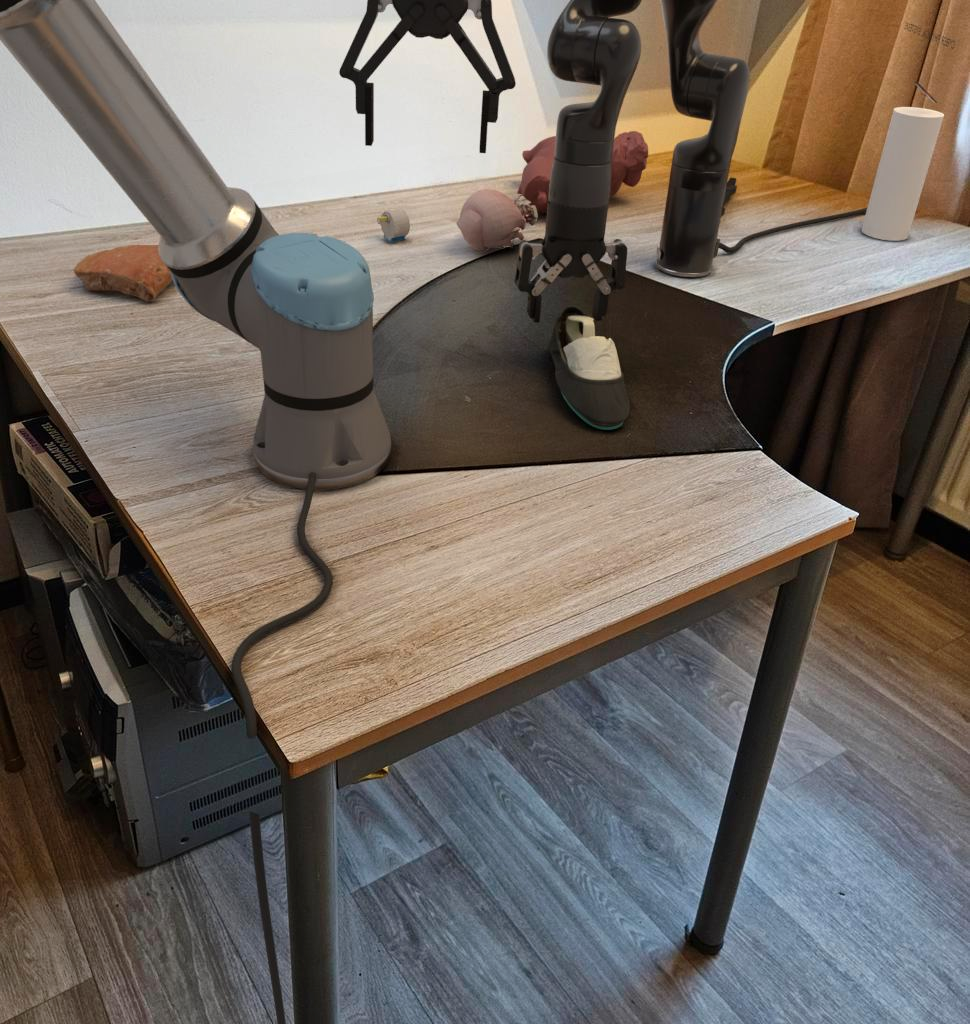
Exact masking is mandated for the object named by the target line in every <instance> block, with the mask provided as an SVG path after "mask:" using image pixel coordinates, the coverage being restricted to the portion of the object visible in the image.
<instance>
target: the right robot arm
mask: <svg viewBox="0 0 970 1024" xmlns="http://www.w3.org/2000/svg"><path fill="white" fill-rule="evenodd" d="M642 1H643V0H569V1H568V3H567V4H566V6H565V7H564V9H563V10H561V11H562V12H561V13H560V14H559V16H558V18H557V19H556V21H555V22H554V24H553V27H552V29H551V32H550V34H549V38H548V41H547V45H546V60H547V65H548V67H549V69H550V72H551V73H552V74H553V76H555V77H556V78H557V79H559V80H561V81H564V82H570V83H579V84H586V85H587V84H588V85H593V86H600V91H599V94H598V96H597V98H596V99H595V100H594V101H590V102H589V101H588V102H580V103H579V102H578V103H571V104H568V105H565V106H564V107H562V108H561V109H560V111H559V113H558V115H557V121H556V129H555V136H556V141H555V152H554V161H553V166H552V170H551V175H550V185H549V196H548V207H547V213H546V218H545V219H546V220H545V233H544V238H543V240H542V241H541V242H540V243H533V242H529V241H528V240H526V239H523V240H520V242H519V245H518V252H517V258H516V259H517V260H516V266H515V273H514V284H515V285H516V287H517V289H518V291H519V292H521V293H524V292H525V293H527V302H526V303H527V304H526V313H527V315H528V317H529V318H530V319H531V320H532V323H536V324H537V323H540V321H541V311H542V299H543V295H541V294H542V293H543V292H544V290H545V289H546V288H547V286H548V285H551V284H552V283H553V282H554V281H555V280H556V278H557V277H559V278H560V279H569V278H572V277H573V278H577V279H584V278H585V277H586V276H588V275H589V276H590V277H591V279H592V280H593V282H594V284H595V286H596V287H597V288H596V289H594V294H593V295H594V296H593V306H592V318H593V319H594V321H595V322H600V321H602V320H603V317H605V316H606V315H607V313H608V307H609V298H610V294H611V293H612V292H613V291H616V290H618V291H621V290H623V289H624V288H625V285H626V273H627V261H628V260H627V259H628V246H627V245H626V244H625V243H624V242H623V241H622V240H621V239H619V238H616V239H614V241H612V242H605V235H606V227H607V219H608V211H609V202H610V195H611V189H610V187H611V162H612V153H613V145H614V139H615V137H616V130H617V129H616V128H617V124H618V121H619V116H620V114H621V110H622V107H623V104H624V100H625V99H626V95H627V93H628V89H629V88H630V85H631V83H632V80H633V78H634V75H635V73H636V70H637V68H638V66H639V65H638V64H639V62H640V58H641V54H642V39H641V35H640V32H639V30H638V28H637V26H636V25H635V24H634V23H633V22H632V21H631V20H628V19H623V18H615V17H619V16H624V15H628V14H630V13H633V12H635V11H636V10H637V9H638V7H640V5H641V3H642ZM659 2H660V8H661V14H662V18H663V24H664V31H665V39H666V48H667V60H668V74H669V86H670V95H671V100H672V103H673V106H674V108H675V110H676V112H678V113H679V114H680V115H682V116H685V117H689V118H694V119H698V120H705V121H709V122H710V125H709V128H708V131H707V133H706V134H704V135H702V136H699V137H695V138H689V139H685V140H681V141H679V142H677V143H676V144H675V146H674V148H673V153H672V160H671V165H670V166H671V167H670V172H669V181H668V186H667V194H666V200H665V207H664V214H663V220H662V227H661V234H660V239H659V246H658V245H657V246H656V253H655V254H656V256H657V259H656V261H655V262H656V263H655V266H656V268H657V269H658V270H660V272H663V273H665V274H667V275H670V276H674V277H680V278H681V277H682V278H701V277H705V276H709V275H710V274H711V273H712V271H713V262H714V259H715V258H716V257H718V254H719V249H720V250H722V251H724V252H725V253H728V254H730V253H731V254H732V253H736V252H737V251H738V250H739V249H740V248H741V247H742V246H744V245H745V244H746V243H748V242H750V241H753V240H756V239H759V238H762V237H765V236H769V235H772V234H776V233H779V232H784V231H787V230H792V229H796V228H802V227H806V226H812V225H815V224H821V223H826V222H830V221H836V220H841V219H845V218H851V217H854V216H858V215H863V214H866V211H867V208H868V207H864V208H860V209H856V210H850V211H848V212H842V213H838V214H833V215H827V216H822V217H817V218H812V219H807V220H801V221H798V222H793V223H789V224H785V225H779V226H777V227H773V228H772V227H771V228H769V229H765V230H761V231H758V232H755V233H752V234H749V235H747V236H745V237H743V238H741V239H740V240H739V241H738V242H737V243H736V244H735V245H734V246H731V247H730V246H727V245H726V244H724V243H722V242H721V239H720V238H718V234H719V231H720V225H721V224H720V223H721V219H722V217H721V214H722V208H723V203H724V197H725V192H726V186H727V182H728V180H729V174H730V168H731V165H732V158H733V155H734V152H735V149H736V145H737V141H738V136H739V132H740V128H741V122H742V120H743V119H742V118H743V114H744V109H745V106H746V103H747V98H748V93H749V88H750V81H751V80H750V78H751V77H750V76H751V75H750V73H751V71H750V68H749V65H748V63H747V62H746V61H745V59H743V58H739V57H735V56H734V57H733V56H727V55H722V54H721V55H720V54H715V53H714V54H713V53H707V52H705V51H704V50H703V49H702V47H701V42H700V32H701V29H702V27H703V25H704V23H705V22H706V20H707V18H708V17H709V15H710V14H711V12H712V11H713V9H714V7H715V5H716V4H717V2H718V0H659ZM540 254H541V255H542V257H543V258H544V259H545V260H544V261H543V262H542V263H541V265H540V266H539V267H538V268H537V271H536V273H535V274H534V276H532V278H531V279H530V273H531V268H532V267H531V266H532V262H534V261H536V259H537V257H538V255H540ZM606 254H607V256H608V257H609V258H610V260H611V266H610V277H609V278H606V279H605V277H604V274H603V273H602V272H601V269H599V267H598V266H597V265H598V264H599V263H600V261H601V260H602V259H603V258H604V256H605V255H606Z"/></svg>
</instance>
